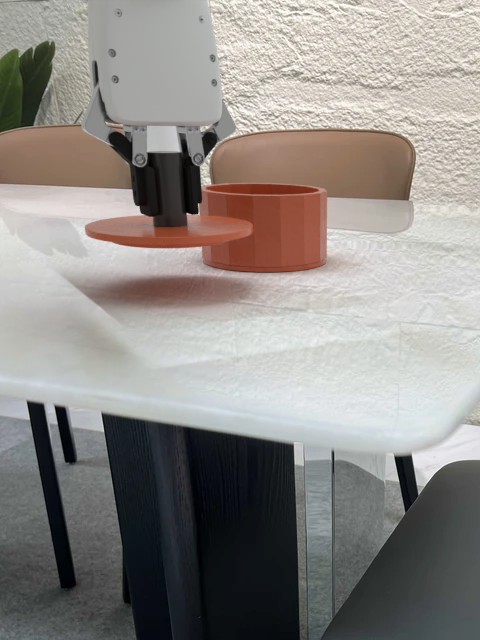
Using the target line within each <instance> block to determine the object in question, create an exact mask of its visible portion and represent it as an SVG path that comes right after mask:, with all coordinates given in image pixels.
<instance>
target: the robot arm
mask: <svg viewBox="0 0 480 640" xmlns="http://www.w3.org/2000/svg"><path fill="white" fill-rule="evenodd" d="M213 25H214V24H213V21H212V16H211V11H210V8H209V3H208V0H87V43H88V45H87V48H88V65H89V66H88V67H89V82H90V83H89V84H90V93H91V96H90V99H89V101H88V104H87V107H86V110H85V112H84V115H83V118H82V121H81V124H80V126H81V129H82V131H83V132H84V133H86V134H88V135H90V136H91V137H93V138H95V139H97V140H99V141H101V142H103V143H105V144H106V145H108V146H109V147H110V148H111V149H112V150H113V151H114V152H116V153H117V154H118V156H120V157H121V158H122V160H124V162H125V163H126V164H127V165H129V173H130V179H131V180H130V181H131V182H130V183H131V191H132V200H133V203H134V205H135V206H136V207H139V212H140V214H141V215H146V216H149V217H156V215H158V204H157V193H156V182H155V172H154V169H153V168H152V167H149V160H148V159H147V126H176V131H177V137H178V143H179V149H180V152H182V159H183V172H184V185H185V197H186V210H187V213H188V214H190V215H199V214H200V212H199V204H200V203H202V189H201V186H202V178H201V166H203V165H204V164H205V161H206V158H207V157H208V156H209V155H210V153H211V152H212V151H213V149H214V148H215V147H216V145H217V144H218V143H220V142H222V141H224V140H225V139H227V138H228V137H230V136H231V135H233V134H235V132H236V131H237V126H236V123H235V121H234V119H233V117H232V115H231V114H230V112H229V109H228V107H227V105H226V104H225V102H224V99H223V93H222V92H223V91H222V81H221V70H220V62H219V56H218V47H217V41H216V36H215V30H214V26H213ZM109 124H113V125H122V132H120V131H117V129H114V128H112V127H111V126H109ZM205 126H209V127H207V128H206V129H205V130H202V131H201V127H205Z"/></svg>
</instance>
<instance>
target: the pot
mask: <svg viewBox="0 0 480 640" xmlns="http://www.w3.org/2000/svg"><path fill="white" fill-rule="evenodd" d="M201 189H202V203H200V204H198V207H199V215H208V216H221V217H230V218H236V219H241V220H245V221H248V222H250V223H252V224H253V233H252V234H251V235H249V236H246V237H243V238H239V239H234V240H230V241H228V242H225V243H222V244H217V245H211V246H204V247H201V257H202V261H203V263H204V264H206V265H207V266H209V267H212V268H216V269H222V270H227V271H228V270H229V271H236V272H248V273H284V272H285V273H286V272H297V271H304V270H311V269H315V268H318V267H319V268H320V267H321V266H323V265H325V264H326V262H327V261H326V260H327V258H328V190H326V188H324V187H320V186H319V187H318V186H314V185H303V184H295V183H277V182H275V183H274V182H231V183H230V182H226V183H218V184H217V183H216V184H215V183H213V184H206V185H201Z"/></svg>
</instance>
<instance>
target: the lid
mask: <svg viewBox="0 0 480 640" xmlns="http://www.w3.org/2000/svg"><path fill="white" fill-rule="evenodd" d="M147 159H148V160H149V167H152V168H153V169H154V172H155V182H156V193H157V204H158V215H156V217H149V216H146V215H144V214H141V215H129V216H127V215H126V216H118V217H110V218H103V219H99V220H96V221H95V220H94V221H91V222H89V223H87V224H85V225H84V232H85V235H86V236H87V237H88V238H91V239H94V240H98V241H102V242H109V243H113V244H115V245H119V246H124V247H131V248H143V249H189V248H191V249H192V248H202V247H204V246H211V245H217V244H222V243H225V242H228V241H230V240H234V239H239V238H243V237H246V236H249V235H251V234H252V233H253V224H252V223H250V222H248V221H245V220H241V219H236V218H230V217H221V216H208V215H200V214H197V215H191V214H190V215H187V210H186V197H185V185H184V172H183V159H182V152H176V151H149V152H147Z"/></svg>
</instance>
